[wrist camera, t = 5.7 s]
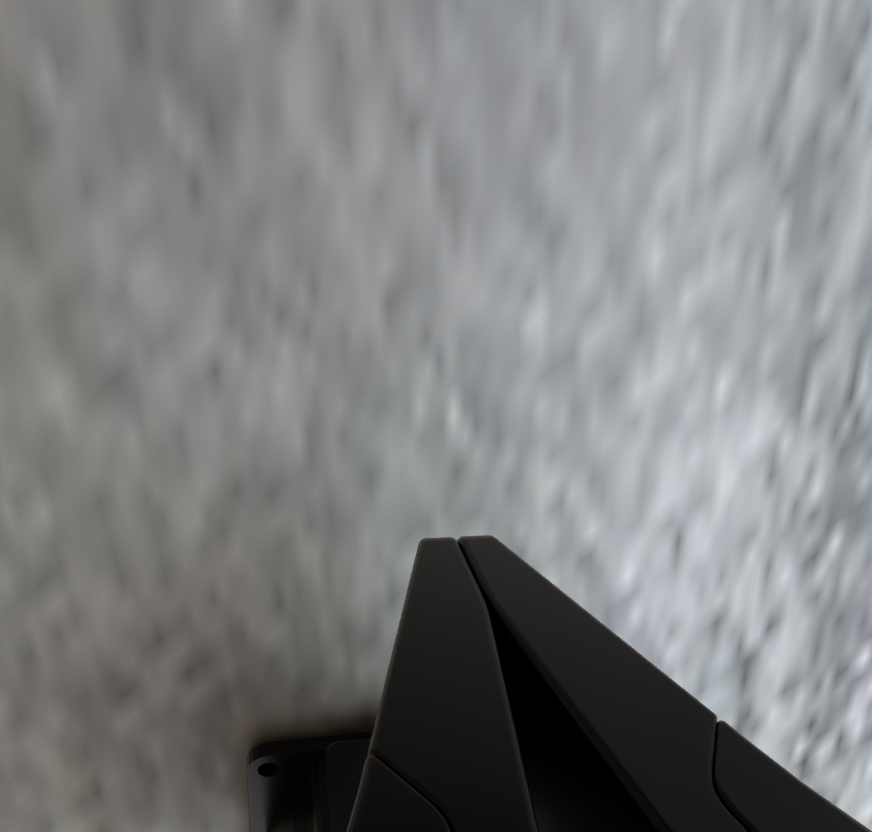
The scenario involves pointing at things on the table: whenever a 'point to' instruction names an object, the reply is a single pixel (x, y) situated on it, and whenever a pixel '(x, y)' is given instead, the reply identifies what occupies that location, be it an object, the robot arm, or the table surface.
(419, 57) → the table surface
